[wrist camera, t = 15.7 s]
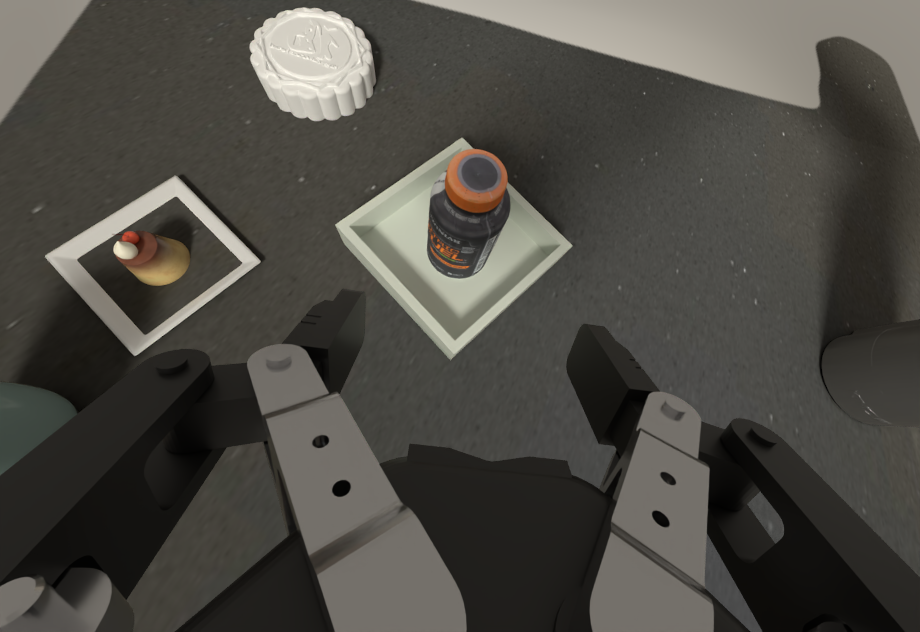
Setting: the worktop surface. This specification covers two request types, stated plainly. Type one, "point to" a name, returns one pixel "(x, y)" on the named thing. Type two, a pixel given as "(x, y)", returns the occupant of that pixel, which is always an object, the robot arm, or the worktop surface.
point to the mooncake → (314, 63)
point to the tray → (424, 288)
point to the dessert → (146, 260)
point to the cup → (28, 419)
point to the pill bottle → (467, 213)
